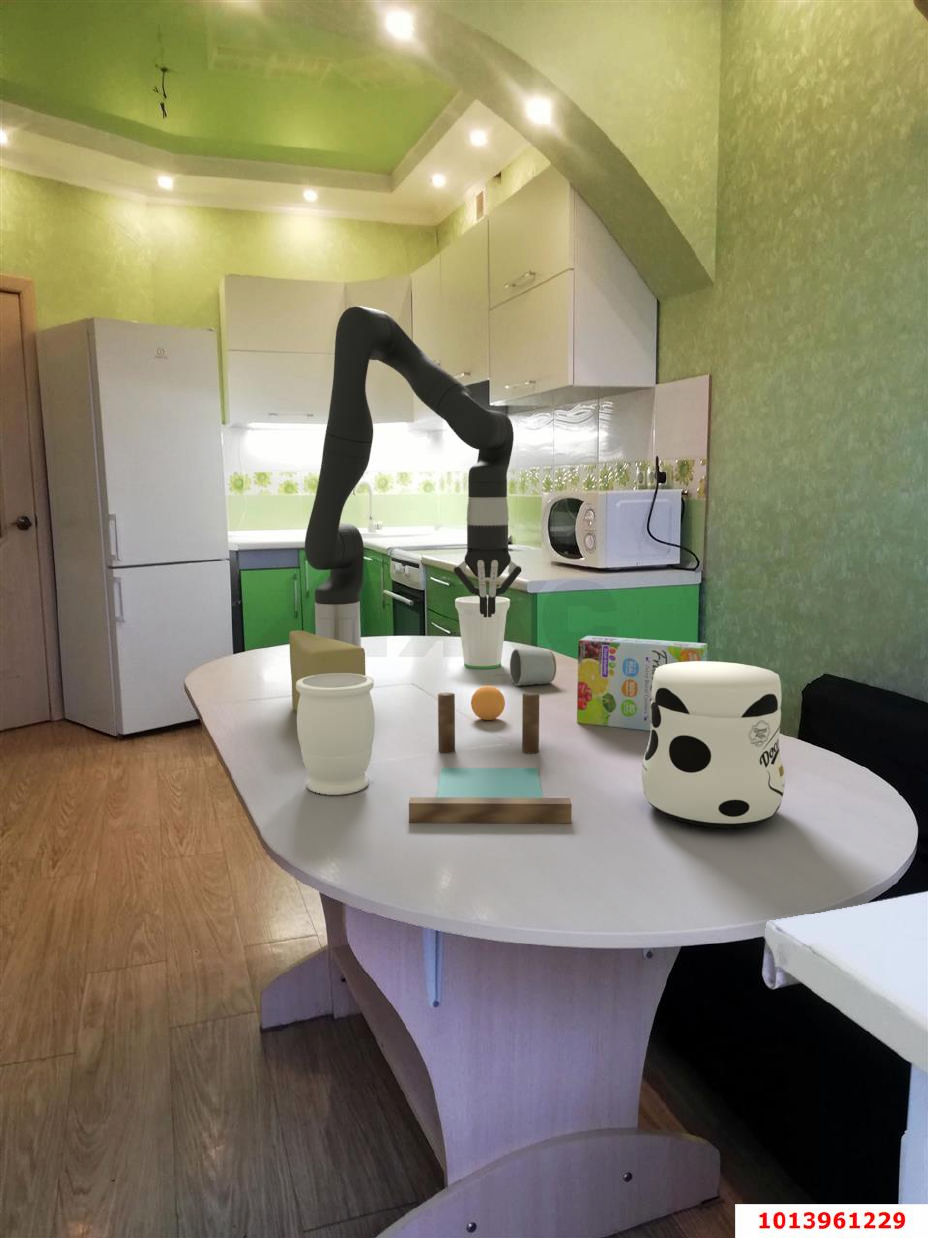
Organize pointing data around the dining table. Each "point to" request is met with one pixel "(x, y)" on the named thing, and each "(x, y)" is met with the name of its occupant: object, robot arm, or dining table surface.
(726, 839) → the dining table surface
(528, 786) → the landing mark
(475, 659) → the cup
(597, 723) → the snack box
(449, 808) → the rail
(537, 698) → the right post
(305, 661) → the cheese
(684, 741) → the spotted treat canister
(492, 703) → the ball
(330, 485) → the robot arm
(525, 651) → the ceramic mug
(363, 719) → the jar
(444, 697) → the left post
